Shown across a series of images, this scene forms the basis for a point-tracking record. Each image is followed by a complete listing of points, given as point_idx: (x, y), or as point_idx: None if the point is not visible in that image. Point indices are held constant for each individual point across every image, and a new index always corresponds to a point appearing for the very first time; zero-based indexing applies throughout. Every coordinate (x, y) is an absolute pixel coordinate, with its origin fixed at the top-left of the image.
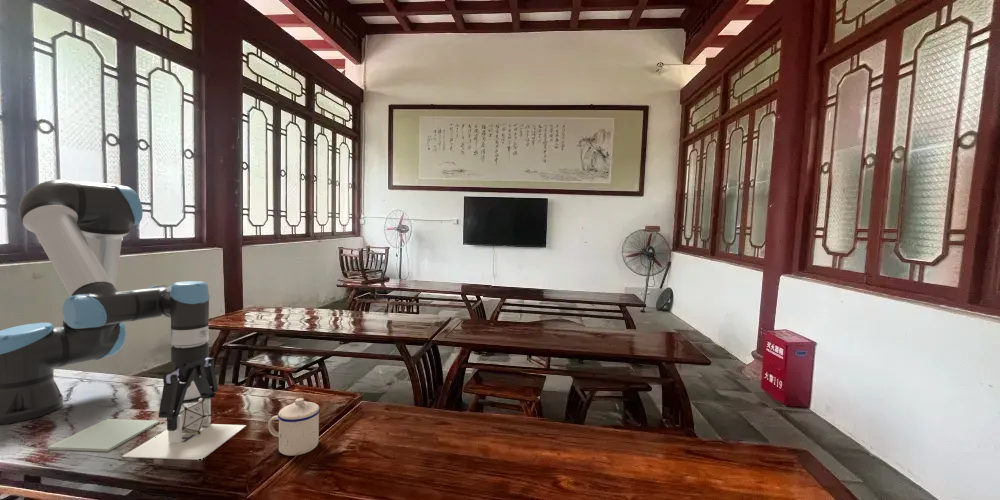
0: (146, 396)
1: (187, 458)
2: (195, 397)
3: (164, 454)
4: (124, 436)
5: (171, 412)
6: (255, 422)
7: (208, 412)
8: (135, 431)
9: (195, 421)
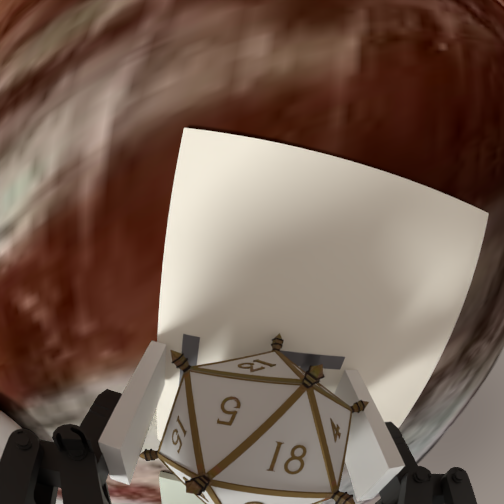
0: None
1: (474, 268)
2: (18, 427)
3: (420, 365)
4: None
5: (459, 488)
6: (145, 100)
7: (147, 384)
8: None
9: (329, 394)
